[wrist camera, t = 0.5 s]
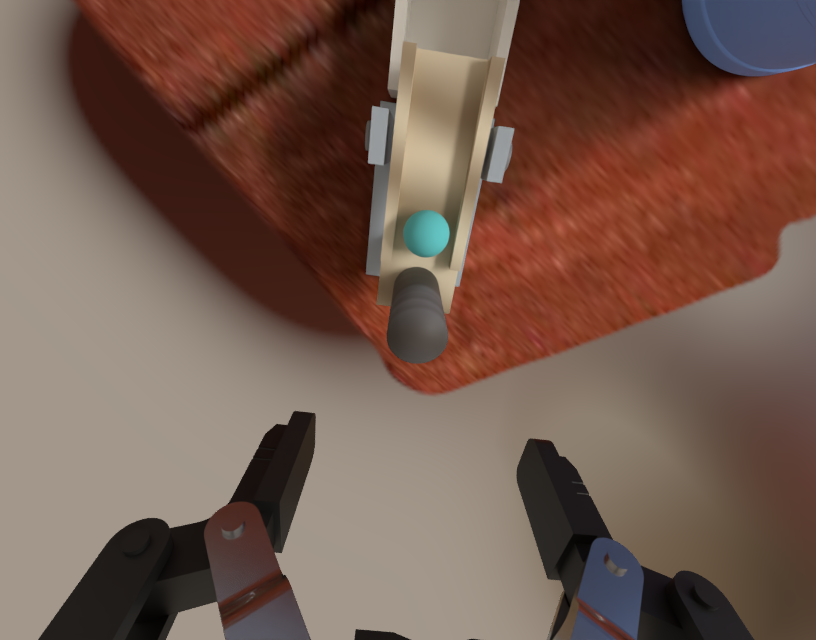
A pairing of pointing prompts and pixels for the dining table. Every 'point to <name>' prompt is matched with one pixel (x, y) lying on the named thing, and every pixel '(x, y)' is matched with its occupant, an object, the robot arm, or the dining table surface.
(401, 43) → the gray open tray
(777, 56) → the water jug
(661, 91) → the dining table surface
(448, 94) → the lever
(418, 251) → the ball
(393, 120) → the stand
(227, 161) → the dining table surface
